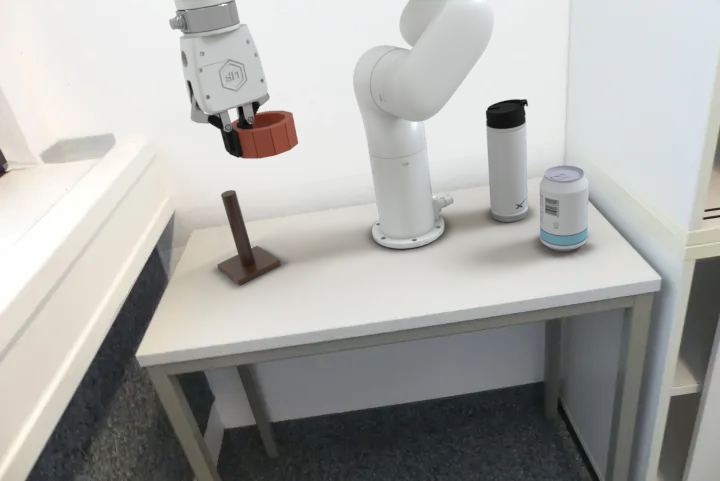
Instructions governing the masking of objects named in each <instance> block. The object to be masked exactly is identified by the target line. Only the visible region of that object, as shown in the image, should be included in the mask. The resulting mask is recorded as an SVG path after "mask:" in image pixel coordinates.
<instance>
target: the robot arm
mask: <svg viewBox="0 0 720 481" xmlns="http://www.w3.org/2000/svg"><path fill="white" fill-rule="evenodd" d="M173 1H174V4H175V5H174V6H175V8H176V11H175V14H176V16H174V17H173V18H170V19H169V26H170V28H171V30H172V31H174V30H175V31H176V30H180V32H181V33H182V36H180V37H179V49H180V51H179V52H180V60H181V68H182V72H183V79H184V82H185V88H186V92H187V95H188V100H189V102H190V105H191V107H190V108H191V109H190V121H191V122H194V123H196V124H207V125H208V124H210V125H211V126H213V127H214V128H216V129H218V130H220V135H221V138H222V142H223V146H224V149H225V151H226V152H227V153H228V154H229V155H230V156H233V157H235V158H238V159H239V158H241V157H242V155H243V153H242V149H241V145H240V141H239V137H238V133H237V131H236V130H234V129H233V127H232V124H231V123H232V121H231V117H230V114H229V110H233V109H236V115H237V119H238V121H239V122H237V125H236V126H237V127H238V128H241V129H253V126H252V124H253V123H254V121H255V118H254V117H255V115H256V113H258V111H259V110H260V107H262V106H263V105H264V104H265V103H267V102H268V101H269V100H270V94H269V89H268V82H267V79H266V75H265V71H264V67H263V64H262V60H261V58H260V54H259V51H258V49H257V46H256V43H255V40H254V38H253V36H252V33H251V31H250V28H249V26H248V25H247V24H246V23H241V20H240V16H239V11H238V7H237V3H236V0H173ZM494 23H495V19H494V10H493V7H492V5H491V3H490V1H489V0H408V1H407V3H406V4H405V6H404V8H403V10H402V12H401V14H400V18H399V24H398V25H399V26H398V27H399V32H400V35H401V38H402V39H403V41H404V42H406V43H407V44H408V45H409V46H410V47H412V48H411V49H408V48H403V47H399V46H395V45H389V44H388V45H386V44H384V45H383V44H382V45H377V46H373V47H371V48H369V49H367V50H366V51H365V52H364V53H362V54H361V56H360V57H359V58H358V59H357V62H356V63H355V66H354V69H353V74H352V85H353V91H354V96H355V99H356V102H357V106H358V109H359V112H360V116H361V119H362V122H363V128H364V132H365V137H366V138H365V139H366V143H367V149H368V157H369V163H370V169H371V170H370V171H371V176H372V182H373V190H374V195H375V201H376V207H377V208H376V209H377V215H378V220H376V222H375V223H374V224H373V226H372V228H371V233H372V238H373V240H374V241H375V242H376V243H377V244H379V245H381V246H383V247H385V248H389V249H390V248H391V249H401V250H402V249H404V250H405V249H413V248H417V247H419V248H420V247H422V246H426V245H428V244H430V243H432V242H434V241H436V240H437V239H438V238H440V237H441V236H442V234H443V233H444V231H445V228H446V227H445V220H444V218H443V217H442V216H441V215H440V213H441V212H442V210H443V209H444V208H446V207H449V206H450V205H452V204H454V201H455V200H454V197H453V196H452V195H451V194H450V193H447V194H445V195H442V196H441V197H439V198H438V196H437V195H436V194H433V190H432V181H431V170H430V162H429V154H428V153H429V152H428V142H427V132H426V127H425V122H424V121H427V120H429V119H431V118H432V117H434V116H436V115H437V114H438V113H439V112H441V110H442V109H444V107H445V106H446V105H447V103H448V102H449V101H450V100H451V98H452V97H453V95H454V94H455V92H456V91H457V90H458V89H459V87H460V86H461V85H462V83H463V82H464V81H465V79H466V78H467V76H468V75H469V74H470V72H471V71H472V69H473V68H474V67H475V65H476V64H477V62H478V61H479V60H480V58H481V57H482V55H483V54H484V53H485V51H486V49H487V48H488V46H489V44H490V41H491V38H492V34H493V31H494Z"/></svg>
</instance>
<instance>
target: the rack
mask: <svg viewBox="0 0 720 481" xmlns="http://www.w3.org/2000/svg"><path fill="white" fill-rule="evenodd" d="M220 197H221V200H222V204H223V207H224V210H225V214H226V218H227V220H228V225H229V228H230V231H231V234H232V237H233V238H232V239H233V241H234V245H235V248H236V251H237V254H236V255H234V256H232V257H230V258H227V259H225V260H224V261H223V260H222V261H221V262H219V263H217V268H218V270H219V271H220V272H221V273H223V274H224V275H226V277H227V278H229V279H231V281H233V282H234V283H236V285H238V286H242V285H243V284H246V283H248V282H250V281H251V280H253V279H256V278H258V277H260V276H261V275H264V274H266V273H267V272H270V271H271V270H274V269H275V268H278V267H280V266H281V265H282V264H281V260H280V259H279V258H278V257H276V256H275V255H273V254H271V253H270V252H268V251H266V250H265V249H263V248H262V247H260V246H259V245H256V246H254V247H252V245H251V244H252V243H251V240H250V238H249V234H248V231H247V227H246V223H245V220H244V216H243V212H242V209H241V205H240V201H239V198H238V194H237V191H236V190H234V189H233V190H232V189H230V190H226V191H223V192H222V193H221V194H220Z"/></svg>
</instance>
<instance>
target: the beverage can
mask: <svg viewBox="0 0 720 481" xmlns="http://www.w3.org/2000/svg"><path fill="white" fill-rule="evenodd" d="M543 174H544V175H543V177H542V179H541V180H540V182H539V233H540V234H539V237H540V238H539V239H540V242H541V243H542V244H543V245H545V246H546V247H548V248H549V249H551V250H553V251H555V252H571V251H575V250H576V249H578V248H579V247H582V246H583V245H585V244H586V242H587V241H588V230H589V229H588V227H589V226H588V225H589V224H588V223H589V196H590V194H589V191H590V182H589V180H588V178H587V177H586V175H585V170H583V168H581V167H578V166H575V165H568V164H567V165H555V166H553V167H550V168H548V169H546V170H545V171H544V173H543Z"/></svg>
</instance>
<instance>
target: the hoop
mask: <svg viewBox="0 0 720 481" xmlns="http://www.w3.org/2000/svg"><path fill="white" fill-rule="evenodd" d="M254 118H255V121H254V123H253V124H252V126H253V129H241V128H238V127H237V126H236V125H237V122H239V121H238V118H237V119H235V120H233V121H231V124H232V127H233V129H234V130H236V131H237V133H238V137H239V141H240V145H241V149H242V153H243V155H242V157H240V158H241V159H244V160H245V159H248V160H249V159H251V160H253V159H254V160H255V159H257V160H258V159H265V158H269V157H275V156H279V155H281V154H283V153H286V152H289V151H290V150H292V149H294V148H295V147H296V146H297V145H299V140H298V135H297V130H296V124H295V119H294V114H293V112H290V111H287V110H282V109H281V110H266V111H261V112H257V113H256V115H255V117H254Z"/></svg>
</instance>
